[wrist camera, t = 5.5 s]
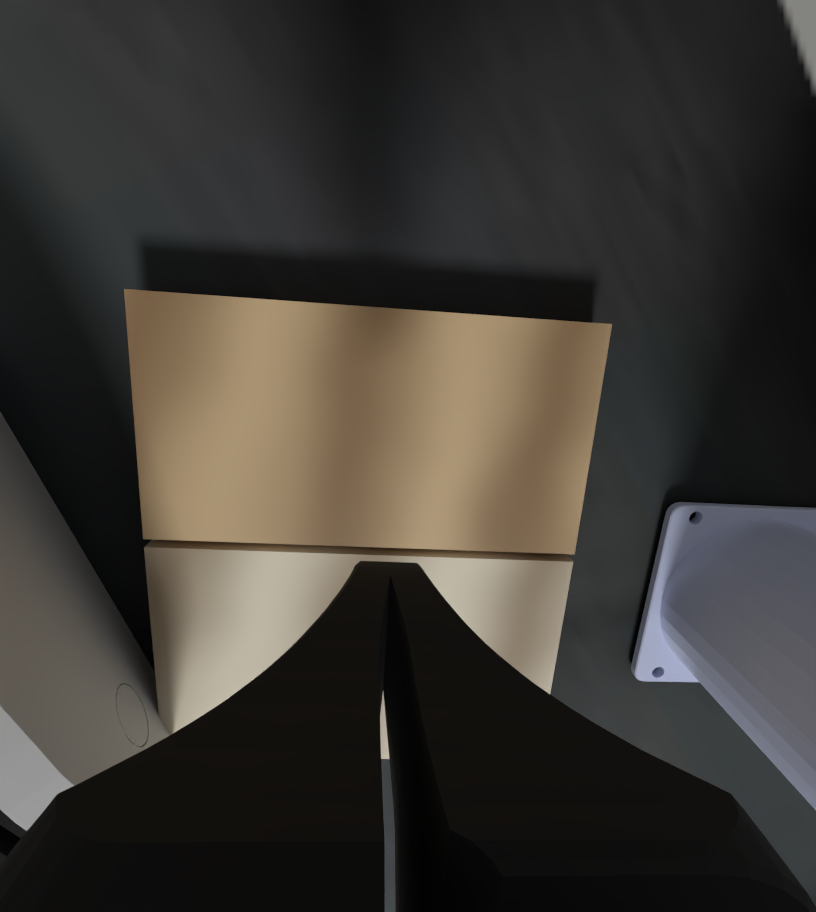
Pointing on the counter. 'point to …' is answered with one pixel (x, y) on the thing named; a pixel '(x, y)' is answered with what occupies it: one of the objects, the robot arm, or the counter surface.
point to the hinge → (59, 658)
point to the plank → (360, 424)
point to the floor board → (308, 595)
